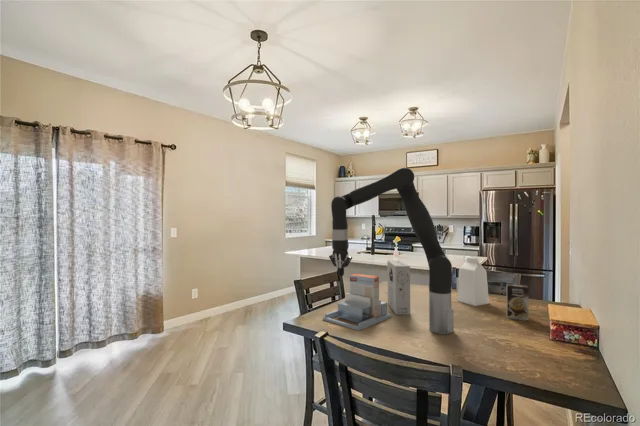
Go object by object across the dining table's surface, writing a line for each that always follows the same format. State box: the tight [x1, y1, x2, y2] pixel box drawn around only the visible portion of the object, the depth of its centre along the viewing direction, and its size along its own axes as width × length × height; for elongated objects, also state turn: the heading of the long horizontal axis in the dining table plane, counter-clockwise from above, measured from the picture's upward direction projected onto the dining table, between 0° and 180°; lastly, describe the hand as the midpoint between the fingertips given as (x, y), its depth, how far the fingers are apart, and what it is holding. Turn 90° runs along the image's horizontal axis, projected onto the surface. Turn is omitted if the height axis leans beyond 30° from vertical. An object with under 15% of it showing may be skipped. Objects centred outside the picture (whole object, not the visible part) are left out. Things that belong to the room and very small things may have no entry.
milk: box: [456, 256, 490, 307], centre depth 186 cm, size 12×12×26 cm
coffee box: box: [506, 283, 530, 321], centre depth 157 cm, size 9×6×16 cm
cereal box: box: [386, 259, 411, 315], centre depth 174 cm, size 22×8×25 cm, turn 179°
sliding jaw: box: [337, 292, 371, 324], centre depth 156 cm, size 19×7×11 cm, turn 46°
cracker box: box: [349, 273, 380, 318], centre depth 160 cm, size 14×6×21 cm, turn 51°
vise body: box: [322, 298, 392, 332], centre depth 157 cm, size 22×26×9 cm
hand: (340, 275), depth 149 cm, fingers closed
